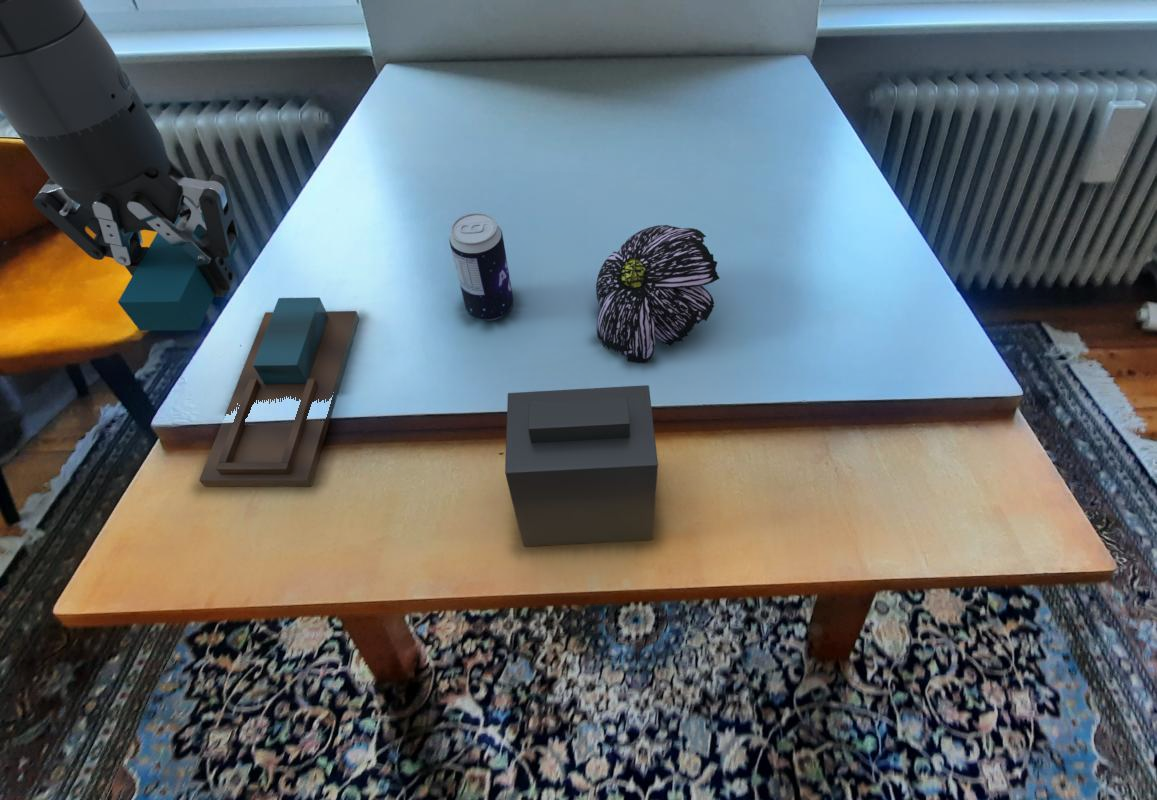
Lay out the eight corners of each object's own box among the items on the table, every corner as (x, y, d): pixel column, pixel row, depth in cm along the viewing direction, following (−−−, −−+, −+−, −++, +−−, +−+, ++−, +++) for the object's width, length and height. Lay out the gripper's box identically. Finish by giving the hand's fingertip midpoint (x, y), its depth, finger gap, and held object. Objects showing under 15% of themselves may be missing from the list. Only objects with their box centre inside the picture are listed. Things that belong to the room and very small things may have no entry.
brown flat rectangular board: (311, 486, 73) (295, 462, 69) (204, 486, 73) (183, 463, 70) (359, 317, 87) (348, 290, 83) (268, 319, 87) (254, 292, 84)
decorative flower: (554, 236, 79) (685, 180, 77) (581, 282, 90) (696, 234, 88) (595, 353, 74) (737, 296, 72) (619, 387, 85) (742, 338, 83)
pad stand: (523, 546, 68) (501, 459, 56) (524, 472, 73) (504, 377, 61) (652, 540, 67) (659, 451, 56) (645, 466, 72) (649, 369, 60)
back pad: (198, 330, 57) (178, 301, 55) (139, 331, 57) (116, 302, 55) (238, 244, 63) (222, 214, 61) (185, 245, 63) (166, 215, 61)
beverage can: (512, 324, 85) (498, 244, 75) (464, 325, 85) (444, 246, 75) (515, 290, 88) (502, 209, 79) (469, 291, 88) (450, 211, 79)
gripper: (-70, 135, 45) (91, 324, 59) (154, 129, 44) (265, 322, 58) (-7, 70, 50) (128, 259, 63) (197, 64, 49) (290, 257, 62)
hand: (193, 288), depth 60 cm, fingers closed on back pad, 4 cm apart
